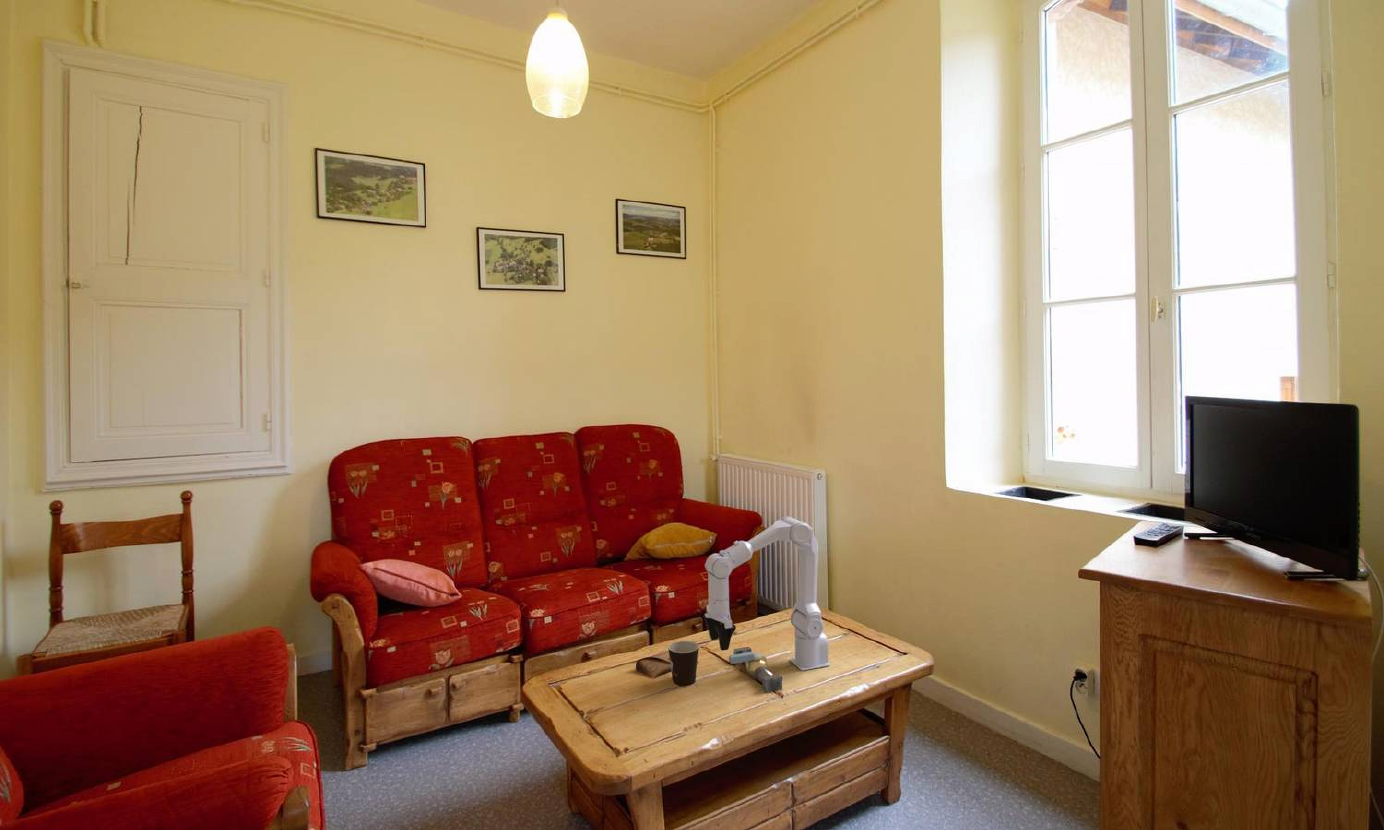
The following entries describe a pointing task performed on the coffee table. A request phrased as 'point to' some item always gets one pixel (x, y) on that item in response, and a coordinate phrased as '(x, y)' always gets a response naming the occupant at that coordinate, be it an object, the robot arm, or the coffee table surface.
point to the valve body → (761, 672)
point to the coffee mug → (683, 662)
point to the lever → (744, 657)
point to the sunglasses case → (655, 665)
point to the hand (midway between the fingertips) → (719, 644)
